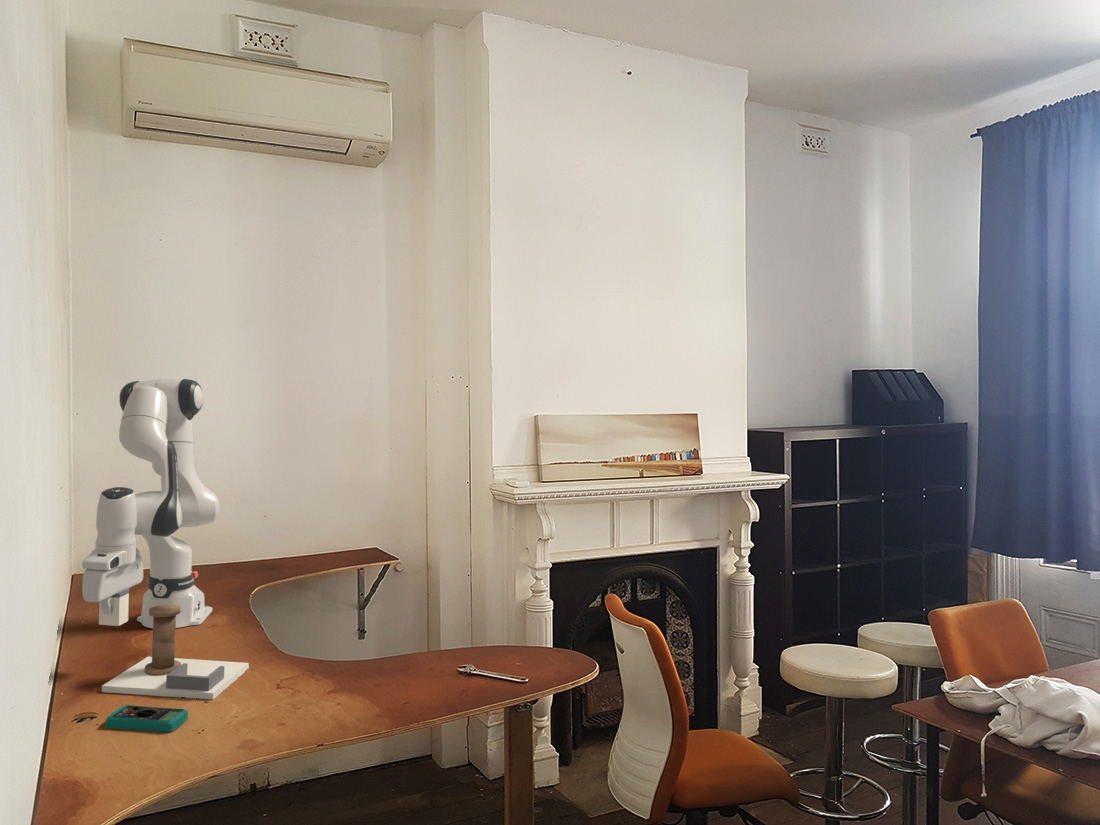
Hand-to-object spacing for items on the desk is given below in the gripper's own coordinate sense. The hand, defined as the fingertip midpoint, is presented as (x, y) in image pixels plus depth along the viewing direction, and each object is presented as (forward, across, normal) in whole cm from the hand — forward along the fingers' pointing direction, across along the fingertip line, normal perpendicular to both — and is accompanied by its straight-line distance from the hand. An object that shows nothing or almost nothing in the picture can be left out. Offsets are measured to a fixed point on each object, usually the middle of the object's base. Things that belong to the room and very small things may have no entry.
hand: (114, 610), depth 201 cm
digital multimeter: (+15, +28, +24) cm, 40 cm away
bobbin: (+13, +2, +14) cm, 19 cm away
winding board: (+15, +4, +19) cm, 24 cm away
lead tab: (+3, 0, 0) cm, 3 cm away
